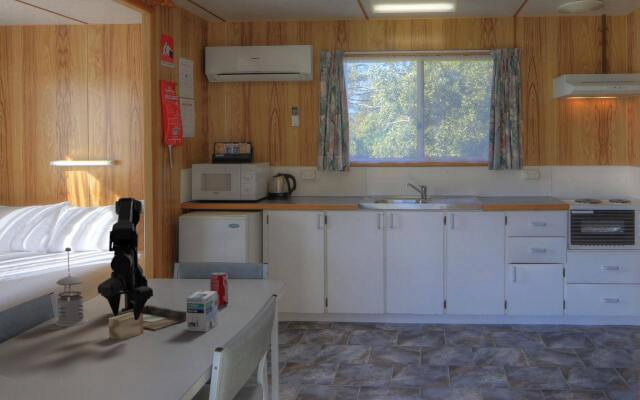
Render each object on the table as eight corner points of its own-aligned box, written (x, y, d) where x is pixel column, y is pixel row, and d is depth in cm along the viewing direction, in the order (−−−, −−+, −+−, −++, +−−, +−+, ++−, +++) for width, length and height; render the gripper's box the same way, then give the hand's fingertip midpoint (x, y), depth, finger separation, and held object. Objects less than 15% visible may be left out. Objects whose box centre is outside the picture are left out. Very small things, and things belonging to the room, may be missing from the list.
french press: (57, 328, 218) (53, 250, 216) (52, 319, 228) (49, 245, 226) (89, 324, 223) (86, 248, 220) (83, 315, 233) (80, 243, 231)
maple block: (109, 337, 207) (108, 318, 207) (132, 330, 215) (131, 311, 214) (120, 340, 204) (119, 320, 204) (143, 332, 212) (142, 313, 211)
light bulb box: (206, 332, 212) (206, 298, 211) (186, 331, 213) (185, 297, 212) (218, 323, 222) (217, 290, 221) (199, 322, 224) (198, 290, 223)
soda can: (207, 307, 244) (206, 273, 243) (216, 303, 250) (215, 270, 249) (222, 308, 241) (221, 275, 240) (231, 304, 247) (230, 271, 246)
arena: (116, 322, 224) (115, 313, 224) (148, 313, 236) (148, 304, 235) (155, 330, 214) (154, 321, 214) (186, 320, 226) (186, 311, 226)
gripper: (82, 269, 206) (84, 319, 207) (124, 275, 196) (126, 328, 197) (111, 263, 215) (113, 311, 217) (153, 269, 205) (155, 319, 207)
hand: (126, 317), depth 209 cm, fingers open, 9 cm apart
